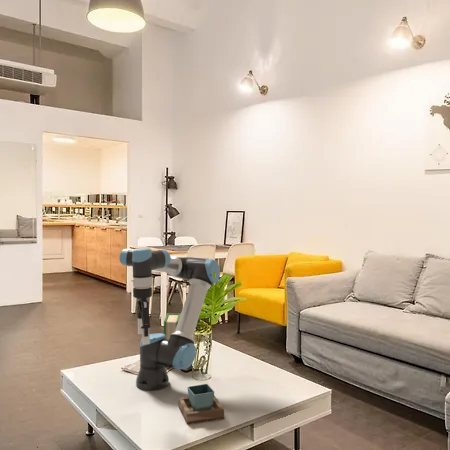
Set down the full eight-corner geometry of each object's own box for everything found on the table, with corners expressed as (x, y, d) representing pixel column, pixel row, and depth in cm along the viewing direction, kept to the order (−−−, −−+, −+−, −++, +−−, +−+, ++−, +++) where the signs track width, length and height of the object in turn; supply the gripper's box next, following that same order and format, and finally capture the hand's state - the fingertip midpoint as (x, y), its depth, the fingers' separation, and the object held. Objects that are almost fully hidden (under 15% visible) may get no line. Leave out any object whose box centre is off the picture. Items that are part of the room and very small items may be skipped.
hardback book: (177, 367, 232) (178, 321, 231) (163, 366, 232) (163, 321, 231) (180, 355, 250) (180, 313, 249) (166, 355, 249) (167, 313, 248)
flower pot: (193, 417, 175) (193, 395, 174) (186, 407, 183) (187, 386, 183) (214, 413, 178) (214, 391, 178) (206, 404, 186) (207, 383, 186)
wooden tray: (178, 407, 185) (178, 398, 185) (213, 403, 190) (213, 393, 190) (187, 424, 171) (187, 414, 171) (224, 419, 176) (224, 409, 176)
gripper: (129, 281, 190) (130, 330, 191) (137, 294, 166) (138, 349, 168) (147, 280, 192) (148, 329, 194) (157, 292, 168) (158, 347, 170)
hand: (143, 338), depth 181 cm, fingers open, 13 cm apart
